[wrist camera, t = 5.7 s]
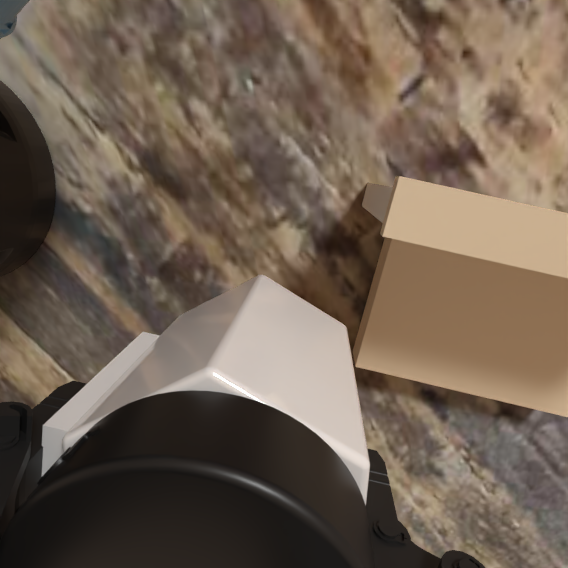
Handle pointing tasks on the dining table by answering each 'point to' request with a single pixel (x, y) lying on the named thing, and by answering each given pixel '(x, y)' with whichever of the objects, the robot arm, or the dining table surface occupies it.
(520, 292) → the cleat board
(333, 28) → the dining table surface
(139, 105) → the dining table surface
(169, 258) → the dining table surface
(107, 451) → the jar
